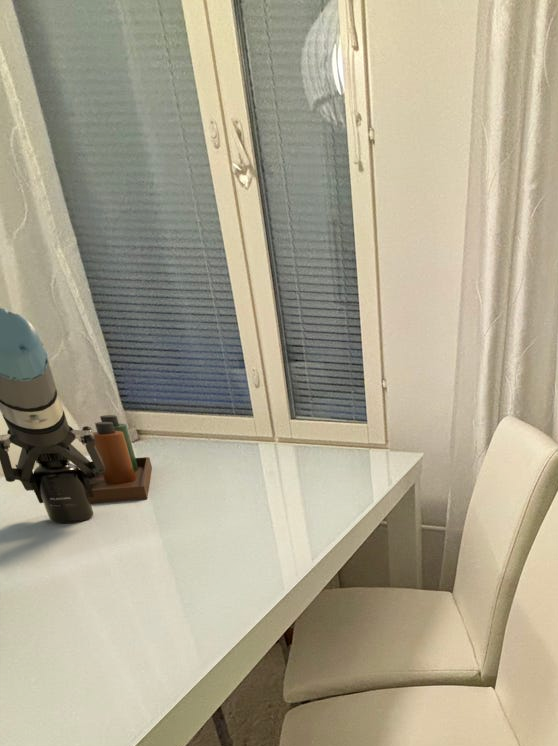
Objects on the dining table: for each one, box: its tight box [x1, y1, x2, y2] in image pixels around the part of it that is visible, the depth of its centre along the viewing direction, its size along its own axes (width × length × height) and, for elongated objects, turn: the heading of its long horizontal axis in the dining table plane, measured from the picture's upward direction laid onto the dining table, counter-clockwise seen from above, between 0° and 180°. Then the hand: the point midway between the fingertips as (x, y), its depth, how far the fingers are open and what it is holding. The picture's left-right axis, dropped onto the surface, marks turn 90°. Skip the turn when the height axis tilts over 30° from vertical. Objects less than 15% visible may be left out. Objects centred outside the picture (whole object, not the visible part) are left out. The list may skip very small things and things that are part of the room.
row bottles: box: [92, 414, 138, 484], centre depth 122 cm, size 6×16×12 cm, turn 26°
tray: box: [89, 456, 153, 504], centre depth 120 cm, size 11×29×3 cm, turn 26°
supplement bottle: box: [33, 453, 94, 524], centre depth 97 cm, size 7×7×12 cm
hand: (65, 493), depth 101 cm, fingers closed on supplement bottle, 7 cm apart
